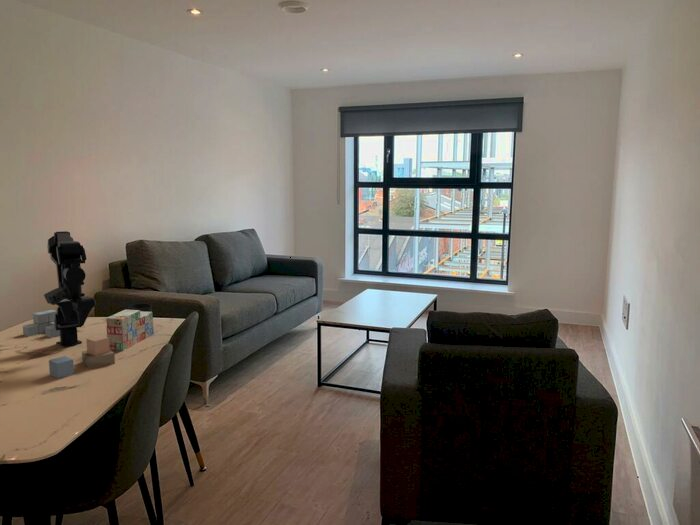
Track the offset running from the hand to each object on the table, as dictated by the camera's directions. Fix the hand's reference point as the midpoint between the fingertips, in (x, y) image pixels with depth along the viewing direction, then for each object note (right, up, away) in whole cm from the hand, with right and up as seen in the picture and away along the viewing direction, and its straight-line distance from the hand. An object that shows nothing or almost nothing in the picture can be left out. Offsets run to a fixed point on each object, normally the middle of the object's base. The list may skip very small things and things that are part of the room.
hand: (74, 323), depth 178 cm
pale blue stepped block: (-25, -8, +26) cm, 37 cm away
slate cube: (+3, -15, -14) cm, 20 cm away
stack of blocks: (+11, -10, +20) cm, 25 cm away
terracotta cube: (+10, -9, -3) cm, 14 cm away
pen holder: (+8, -7, +36) cm, 37 cm away
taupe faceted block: (+10, -13, -3) cm, 17 cm away
